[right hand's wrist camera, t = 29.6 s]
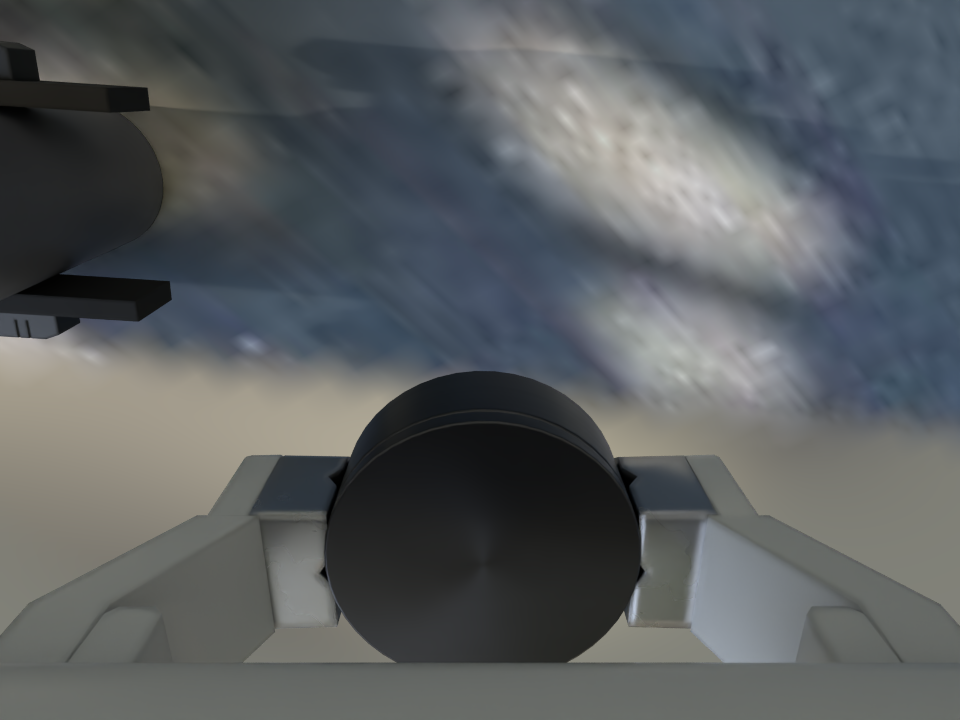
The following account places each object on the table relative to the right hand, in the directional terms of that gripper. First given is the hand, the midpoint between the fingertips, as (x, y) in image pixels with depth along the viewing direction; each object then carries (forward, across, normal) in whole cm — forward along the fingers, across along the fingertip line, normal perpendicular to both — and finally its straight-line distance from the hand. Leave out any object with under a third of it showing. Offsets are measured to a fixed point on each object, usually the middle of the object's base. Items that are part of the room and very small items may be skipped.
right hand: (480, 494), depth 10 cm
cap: (-2, 0, 0) cm, 2 cm away
